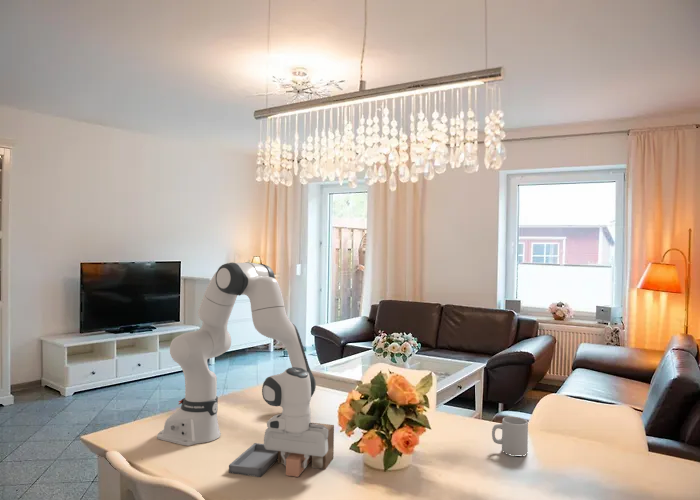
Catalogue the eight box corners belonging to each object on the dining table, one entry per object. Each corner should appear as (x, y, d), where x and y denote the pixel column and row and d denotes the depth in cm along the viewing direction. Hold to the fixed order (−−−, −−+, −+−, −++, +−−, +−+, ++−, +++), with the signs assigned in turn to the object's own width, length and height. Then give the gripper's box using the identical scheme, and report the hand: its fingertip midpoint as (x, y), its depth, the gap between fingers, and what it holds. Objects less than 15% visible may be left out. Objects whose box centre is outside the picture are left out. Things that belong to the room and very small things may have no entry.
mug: (524, 448, 181) (525, 417, 181) (530, 457, 173) (530, 425, 173) (489, 446, 183) (490, 415, 182) (493, 455, 174) (494, 423, 174)
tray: (228, 472, 158) (228, 465, 158) (254, 449, 176) (254, 442, 176) (260, 477, 155) (260, 469, 155) (283, 453, 173) (283, 446, 173)
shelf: (278, 463, 165) (278, 429, 165) (288, 452, 174) (288, 420, 174) (325, 469, 161) (325, 434, 161) (333, 458, 170) (333, 425, 170)
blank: (285, 475, 156) (286, 458, 156) (301, 457, 170) (301, 442, 170) (298, 476, 155) (298, 460, 155) (312, 458, 169) (313, 443, 169)
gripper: (331, 421, 159) (330, 466, 159) (270, 415, 164) (269, 458, 164) (325, 428, 153) (324, 475, 153) (261, 421, 158) (261, 466, 158)
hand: (295, 466), depth 159 cm, fingers closed on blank, 4 cm apart
